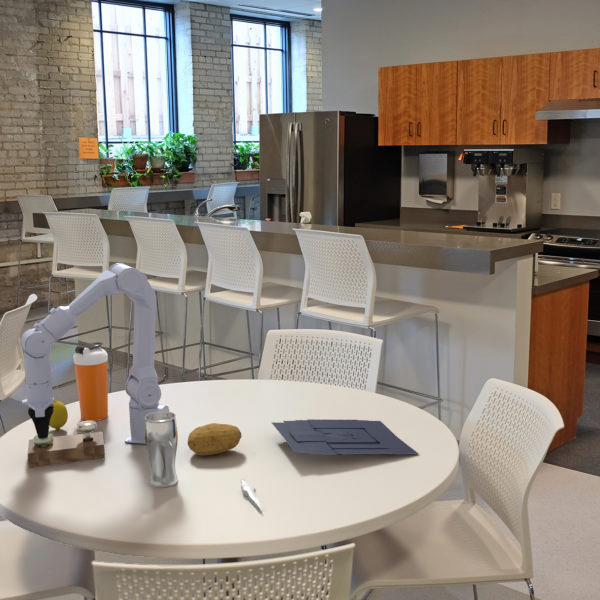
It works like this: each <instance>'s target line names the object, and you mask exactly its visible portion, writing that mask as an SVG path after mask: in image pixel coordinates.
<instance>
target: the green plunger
mask: <svg viewBox="0 0 600 600" xmlns="http://www.w3.org/2000/svg"><path fill="white" fill-rule="evenodd" d="M53 437H54V434H53V433H49V434H48V437H46V438H38V435H37V434H36V435H34V436H33V439H34V445H36V446H42V447H44V446H47V445H49V444H52V443H53V442H54V439H53Z"/></svg>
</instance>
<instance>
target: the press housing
mask: <svg viewBox="0 0 600 600" xmlns="http://www.w3.org/2000/svg"><path fill="white" fill-rule="evenodd" d="M90 437H91V441H88V442H86V441H85V433H80V434H79V433H78V434H68V435H60V436H59V435H58V436H53V439H54V442H53V443H52V444H49V445H47V446H44V447H42V446H36V445H34V438H33V439H28V446H27V461H28V462H27V463H28V468H29V469H31V468H39V467H40V468H41V467H47V466H55V465H56V466H57V465H64V464H72V463H80V462H89V461H90V462H91V461H97V460H105V459H106V453H105V443H104V440H105V439H104V435H103V431H96V432H95V431H93V432H90Z"/></svg>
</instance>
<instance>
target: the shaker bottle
mask: <svg viewBox="0 0 600 600" xmlns="http://www.w3.org/2000/svg"><path fill="white" fill-rule="evenodd" d="M102 345H104V343H103V342H96V341H95V342H91V343H86V344H85V345H77V346H75V347H74V355H73V356H72V359H73V364H74V370H75V379H76V387H77V393H78V394H77V395H78V402H79V411H80V418H81V420H82V421H85V420H86V421H89V420H90V421H95V422H97V421H102V420H104V419H106V418H108V416H109V399H108V398H109V397H108V392H109V391H108V390H109V389H108V388H109V387H108V385H109V384H108V383H109V382H108V381H109V380H108V361H109V358H108V357H109V356H108V352H107V351H106V350H105V349H103V348H102Z"/></svg>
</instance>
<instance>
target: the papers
mask: <svg viewBox="0 0 600 600" xmlns="http://www.w3.org/2000/svg"><path fill="white" fill-rule="evenodd" d="M282 421H283V422H275V421H274V422H270V423H271V424H272V426H274V428H275V429H276V430H277V431H278V433H279V434H280V435H281V437H282V438H283V439H284V441H286V443H287V444H288V445H289V448H290V449H291V450H292V452H293V453H309V454H310V455H326V456H327V455H329V456H331V455H332V456H334V455H337V456H339V455H340V456H341V455H383V454H384V455H386V454H387V455H419V452H417V451H416V450H415V449H413V448H412V447H411V446H409V445H408V444H407V443H405V441H403V440H402V439H400V437H399V436H397V435H396V434H395V433H394V432H393V431H392V430H391V429H390V428H388V427H387V426H386V425H385V424H384V422H382V421H381V420H369V419H368V420H366V419H365V420H364V419H363V420H362V419H309V418H308V419H297V420H296V419H295V420H282Z"/></svg>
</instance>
